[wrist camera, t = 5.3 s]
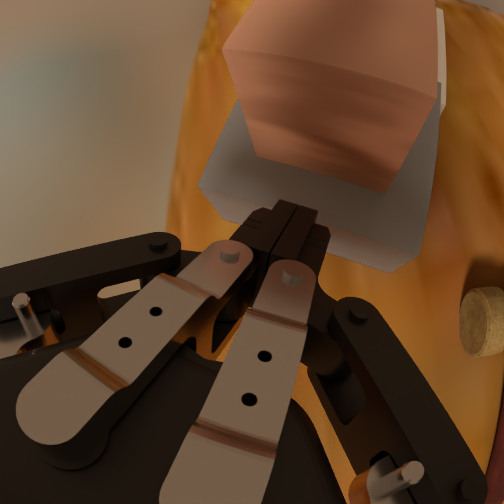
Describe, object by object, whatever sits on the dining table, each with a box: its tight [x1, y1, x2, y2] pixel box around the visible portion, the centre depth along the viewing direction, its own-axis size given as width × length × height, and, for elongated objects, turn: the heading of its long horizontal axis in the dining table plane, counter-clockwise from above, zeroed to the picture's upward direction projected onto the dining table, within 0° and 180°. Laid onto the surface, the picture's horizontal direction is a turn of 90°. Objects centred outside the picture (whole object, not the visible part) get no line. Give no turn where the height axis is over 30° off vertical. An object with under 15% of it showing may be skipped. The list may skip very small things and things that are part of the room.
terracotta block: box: [222, 0, 438, 194], centre depth 13 cm, size 7×7×8 cm
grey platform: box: [198, 82, 441, 273], centre depth 20 cm, size 12×12×6 cm
